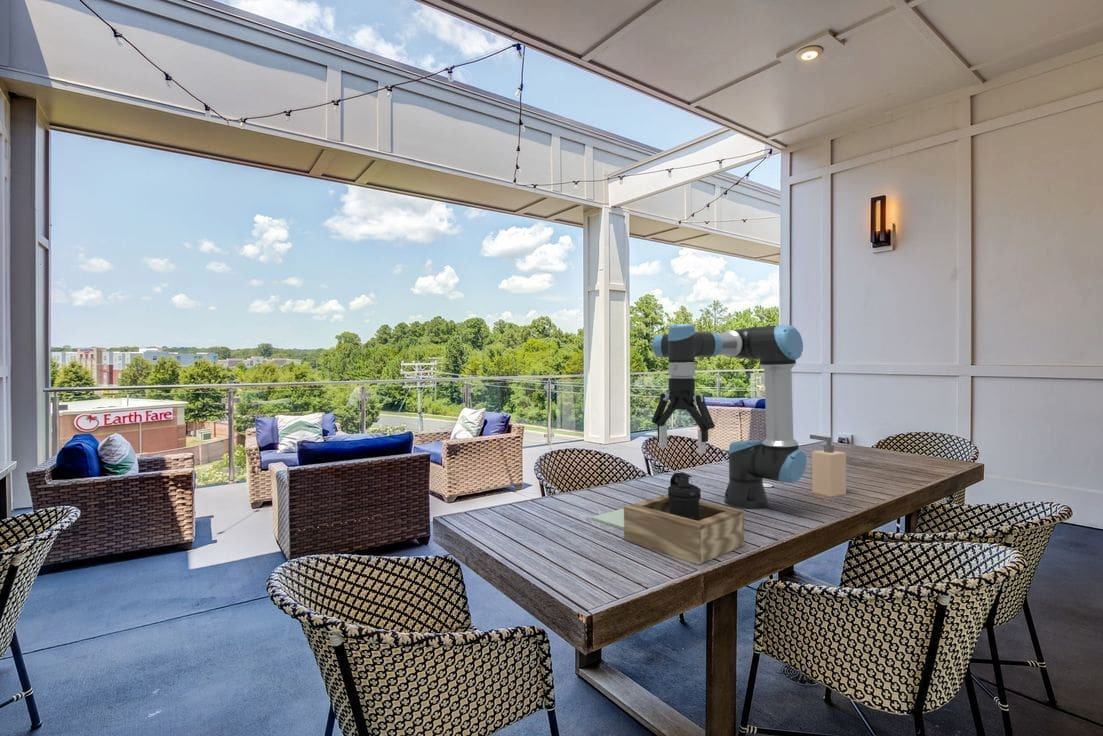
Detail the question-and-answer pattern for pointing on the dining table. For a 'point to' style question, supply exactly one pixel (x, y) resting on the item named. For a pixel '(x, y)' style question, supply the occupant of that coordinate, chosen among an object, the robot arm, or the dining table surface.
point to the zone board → (612, 518)
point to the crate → (684, 529)
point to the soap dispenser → (828, 470)
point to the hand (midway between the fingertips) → (681, 450)
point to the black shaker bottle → (684, 497)
